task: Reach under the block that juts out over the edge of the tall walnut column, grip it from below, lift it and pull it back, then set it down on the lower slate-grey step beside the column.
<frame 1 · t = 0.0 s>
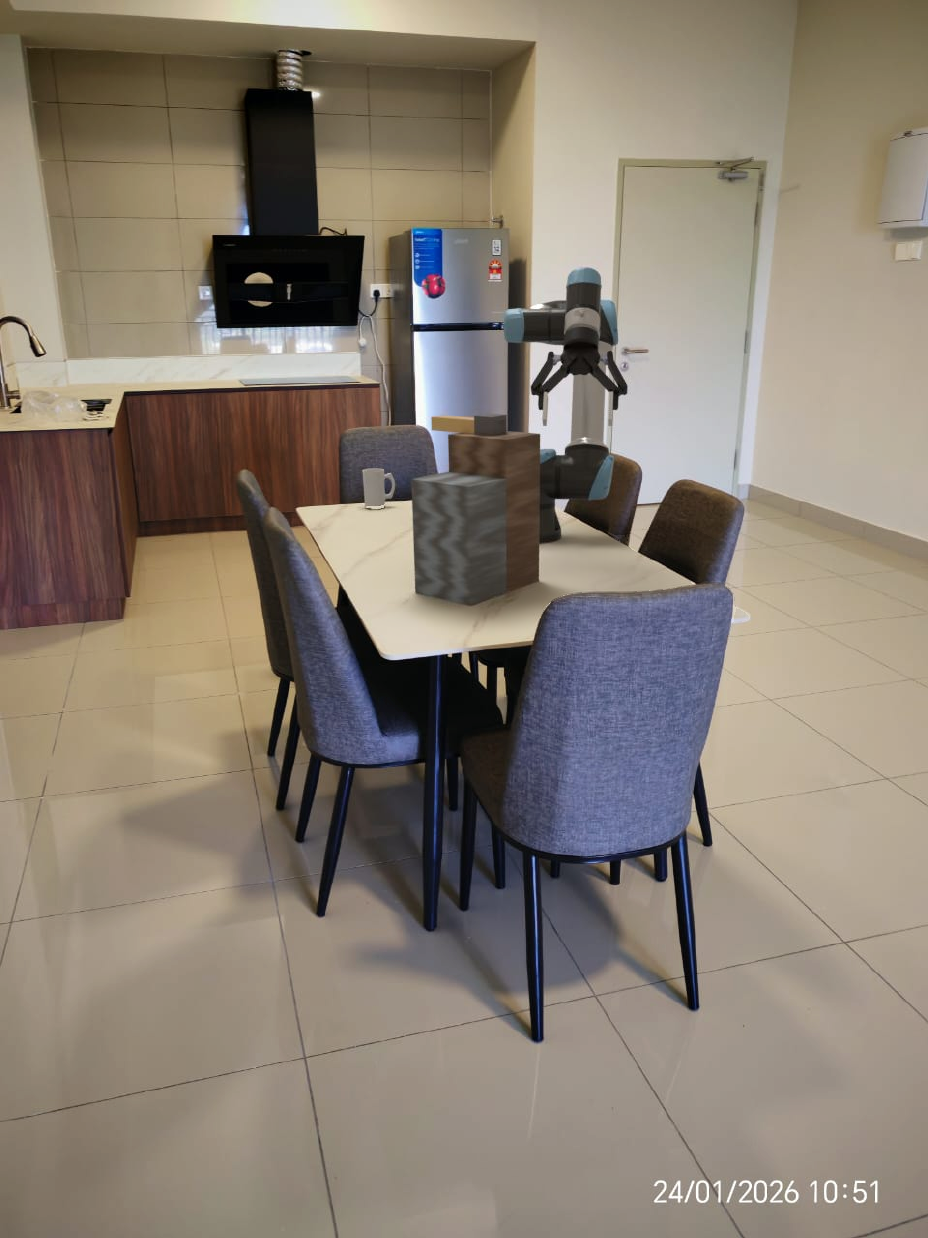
hand: (577, 422, 193), 36 cm above the table, tool tilted 35°, fingers open, 13 cm apart
stand: (478, 586, 207), on the table
canned food: (522, 520, 273), on the table
mug: (380, 508, 293), on the table
block: (467, 431, 205), point 33 cm above the table, touching stand
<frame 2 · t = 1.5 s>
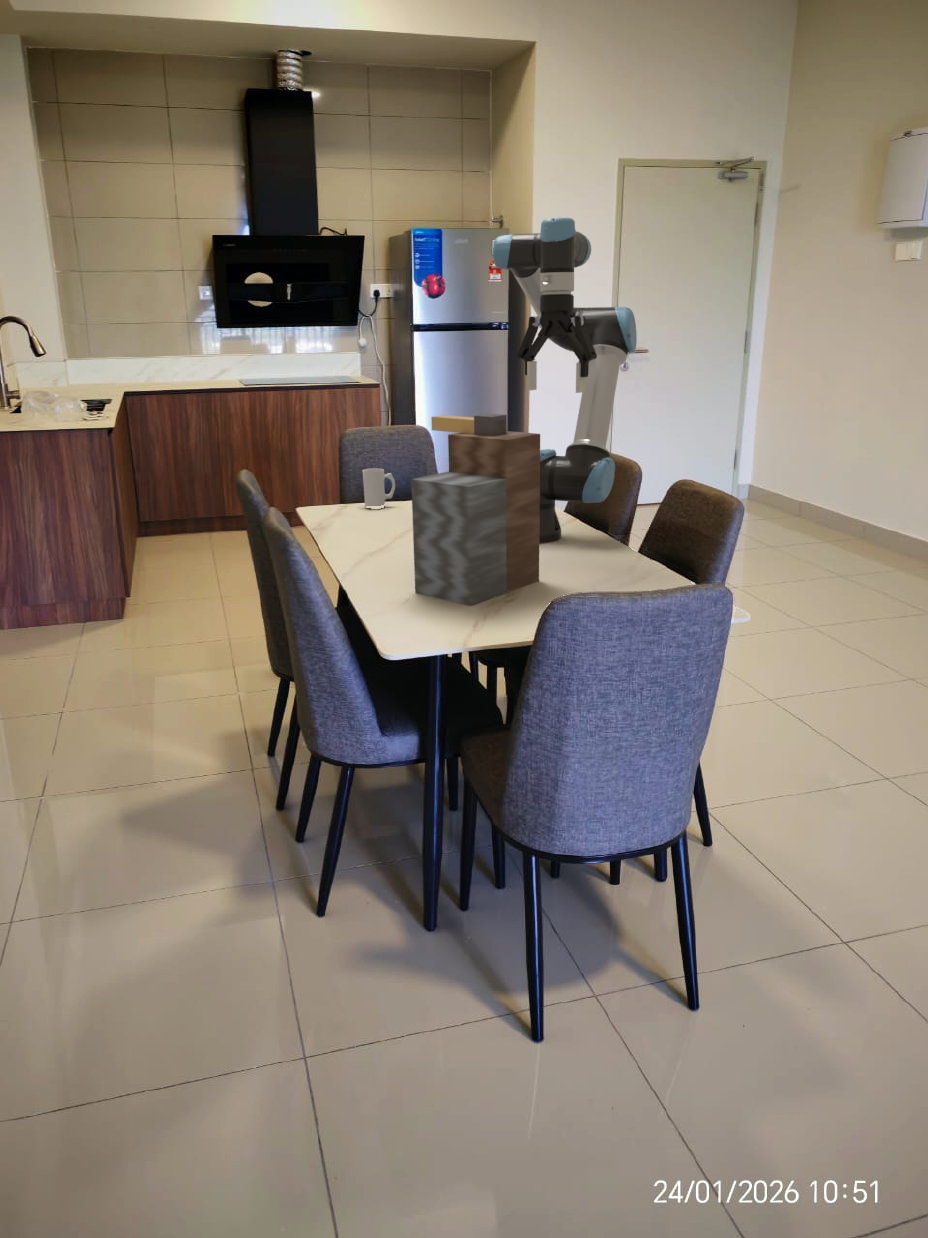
hand: (555, 391, 213), 41 cm above the table, tool pointing down, fingers open, 13 cm apart
nothing on the table moved.
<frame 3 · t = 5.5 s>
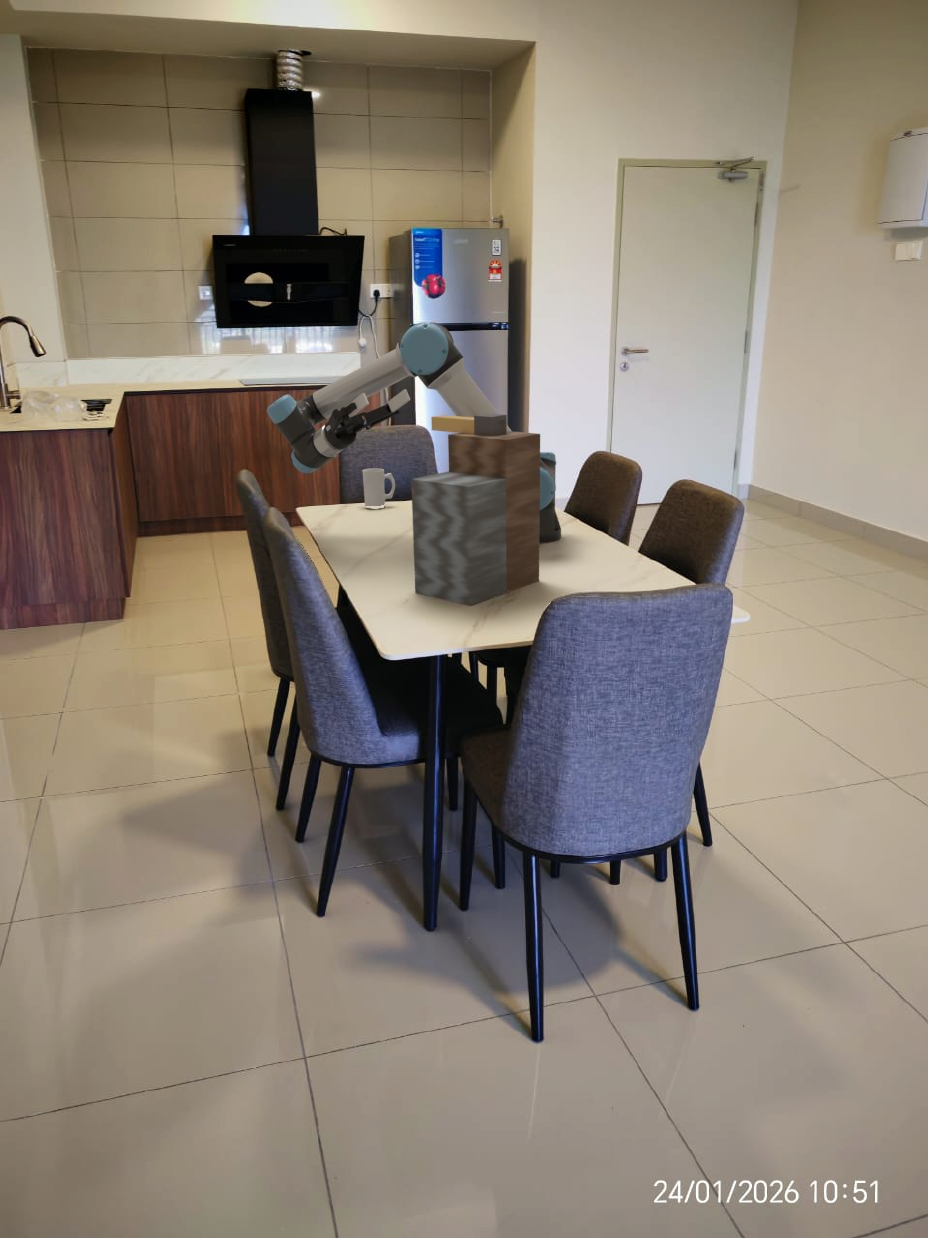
hand: (387, 396, 215), 40 cm above the table, tool pointing upward, fingers open, 13 cm apart
nothing on the table moved.
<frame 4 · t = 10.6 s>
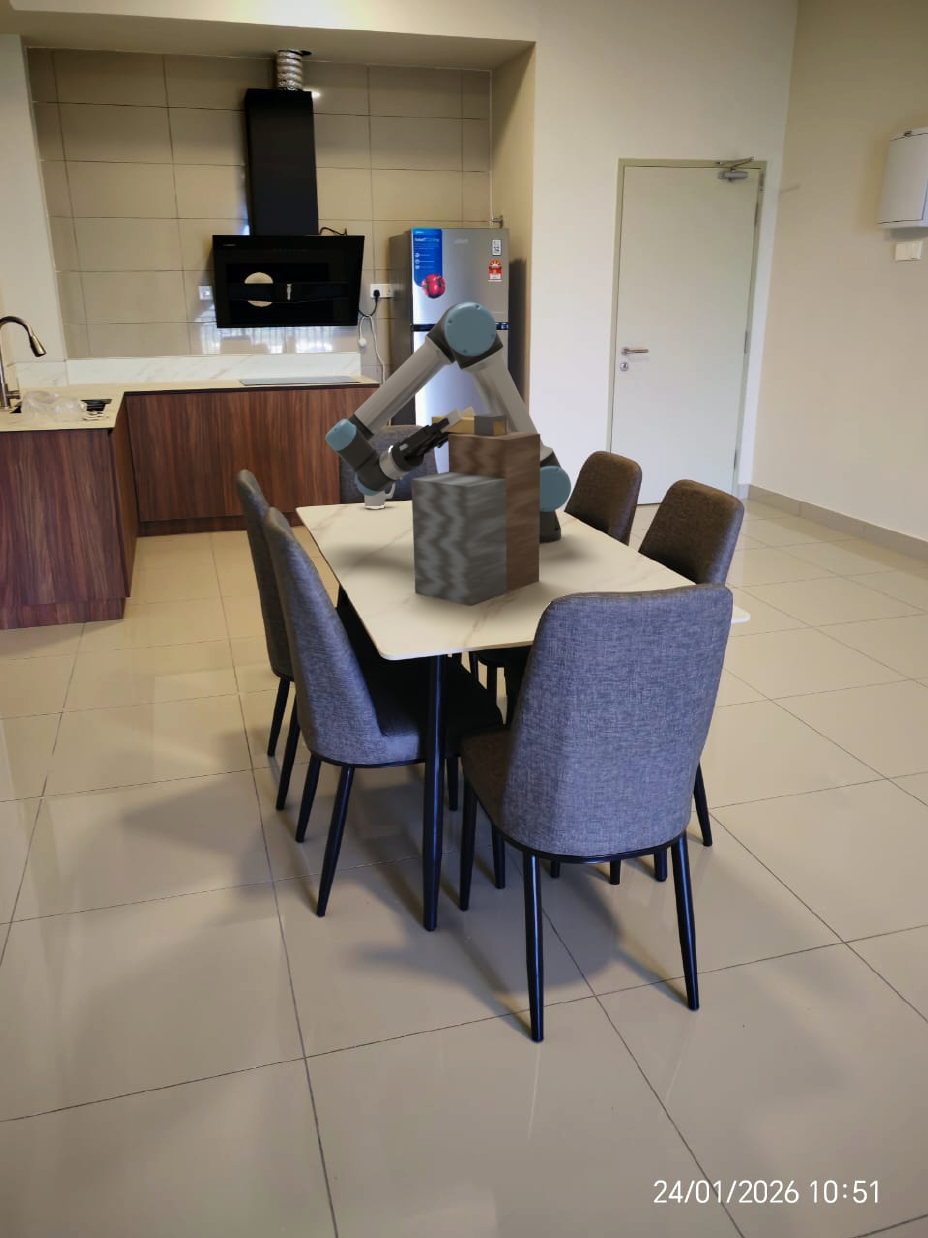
hand: (466, 412, 204), 37 cm above the table, tool pointing upward, fingers closed on block, 4 cm apart
block: (467, 431, 205), point 33 cm above the table, touching gripper, stand
everything else where it was.
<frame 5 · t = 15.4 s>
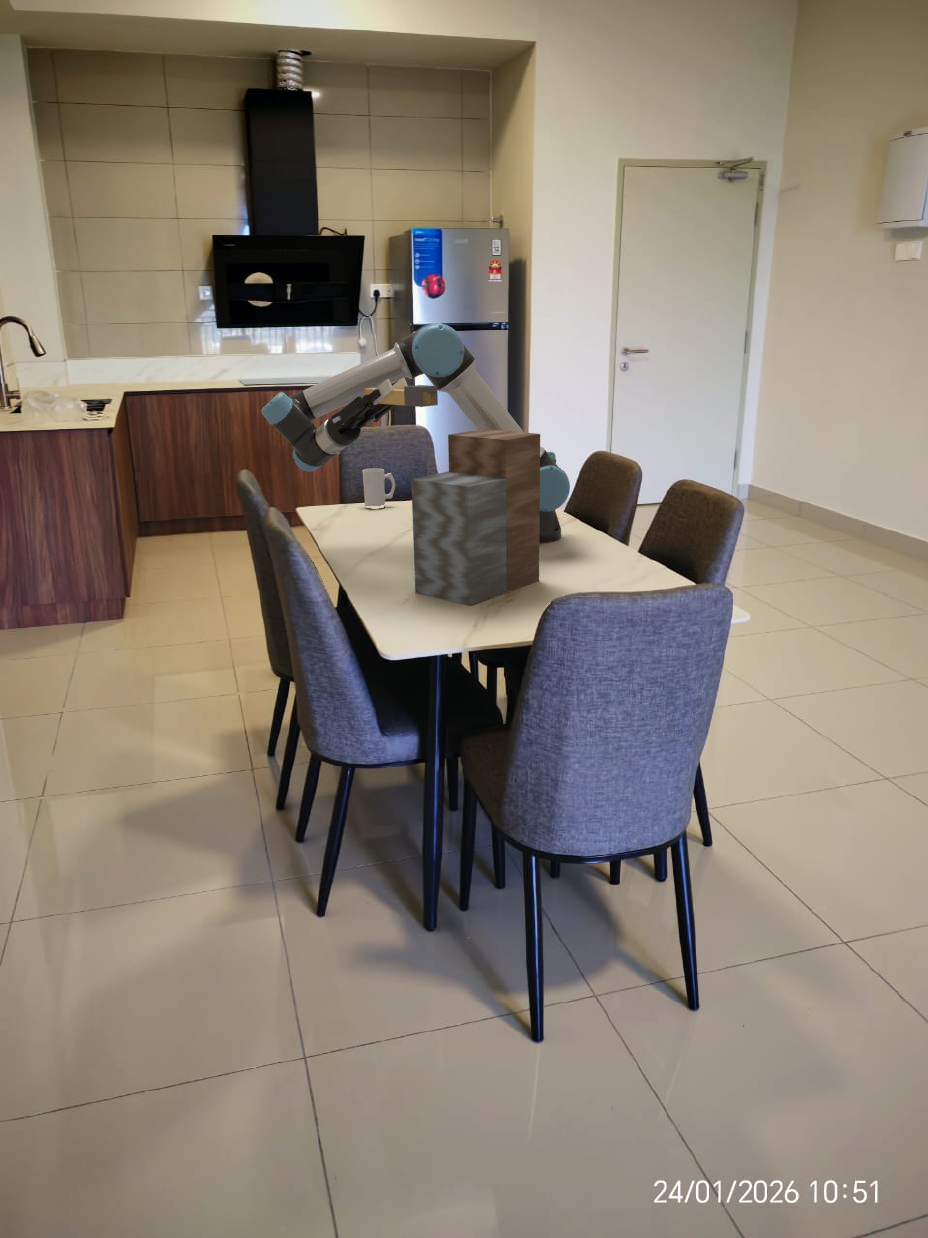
hand: (397, 384, 201), 44 cm above the table, tool pointing upward, fingers closed on block, 4 cm apart
block: (399, 403, 202), point 39 cm above the table, touching gripper
everything else where it was.
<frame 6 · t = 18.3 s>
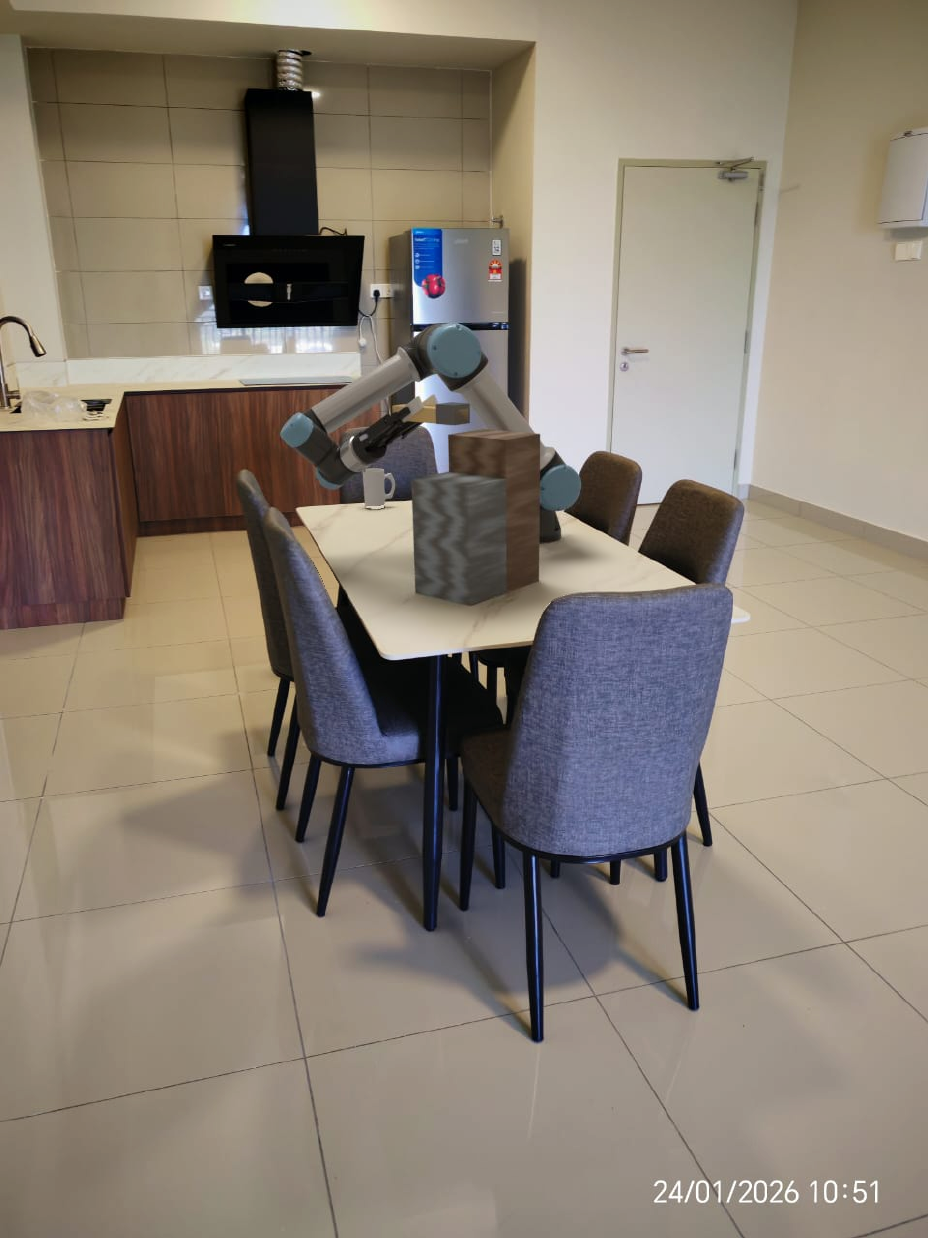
hand: (428, 401, 195), 41 cm above the table, tool pointing upward, fingers closed on block, 4 cm apart
block: (429, 421, 196), point 36 cm above the table, touching gripper
everything else where it was.
when the fingers open (31 cm above the table, at t = 20.6 s): block drops 2 cm, resting on stand.
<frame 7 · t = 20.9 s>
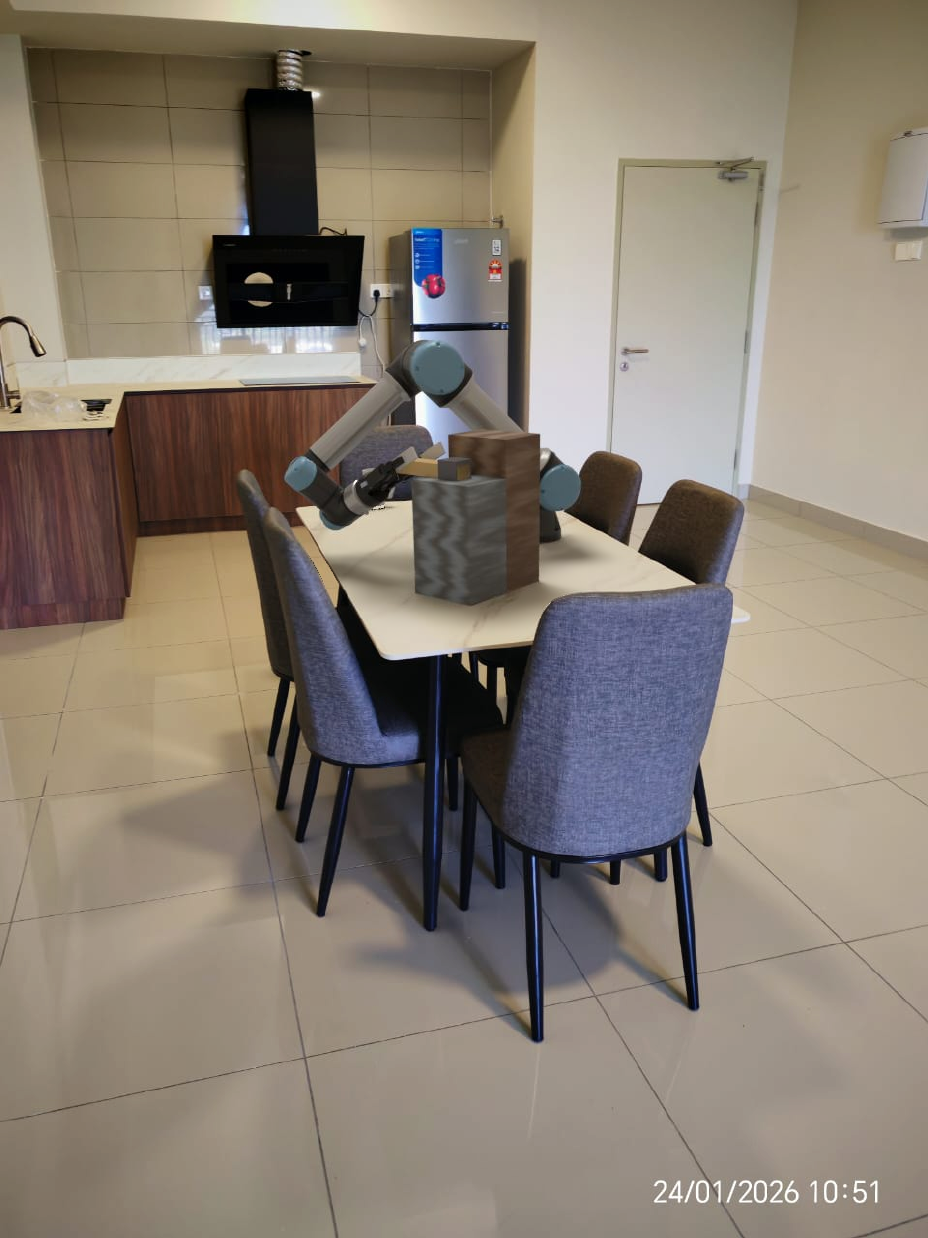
hand: (428, 449, 198), 30 cm above the table, tool pointing upward, fingers open, 8 cm apart
block: (431, 475, 199), point 25 cm above the table, touching stand
everything else where it was.
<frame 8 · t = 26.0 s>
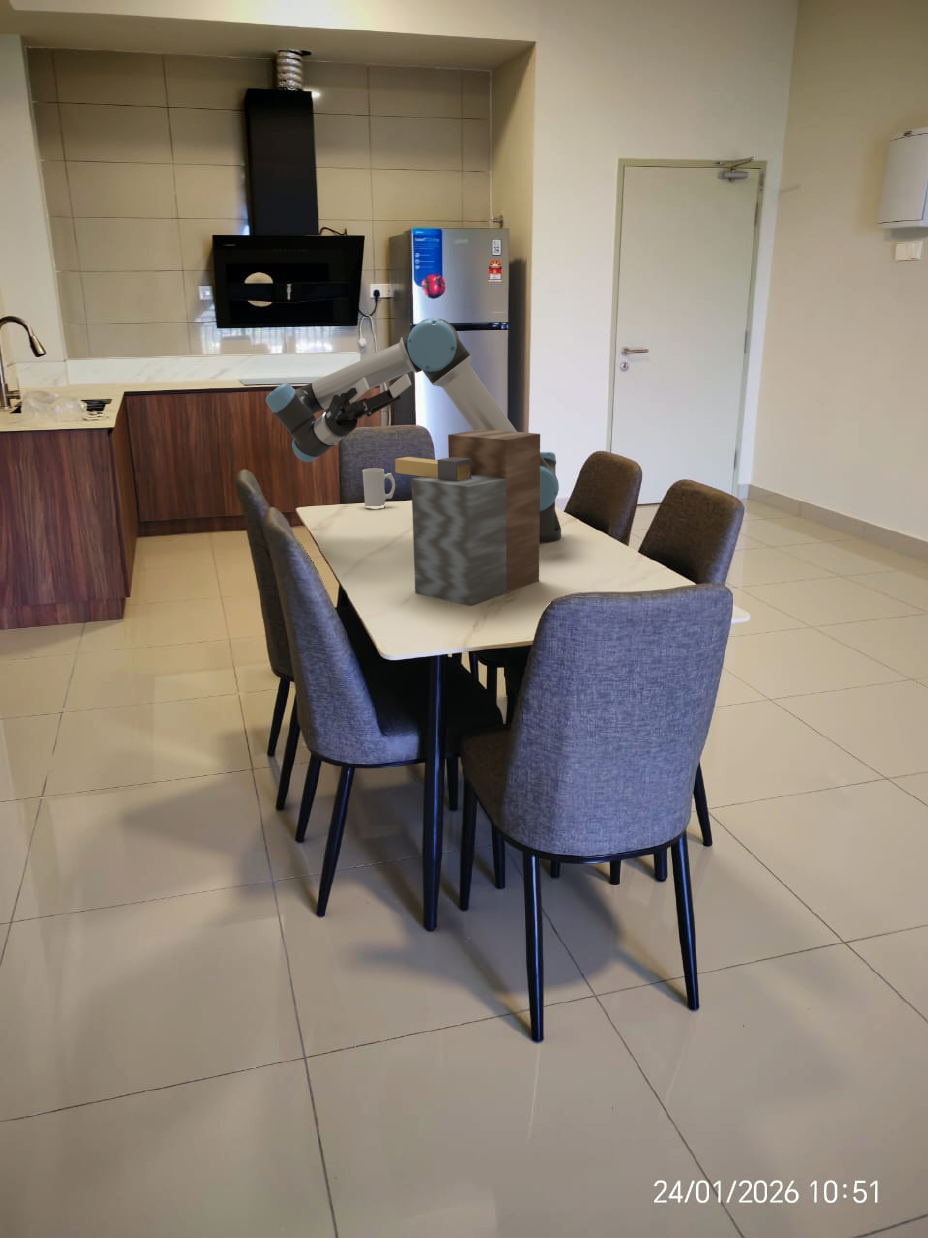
hand: (388, 380, 211), 44 cm above the table, tool pointing upward, fingers open, 13 cm apart
nothing on the table moved.
at the end: block inside the target area on the stand (0.0 cm from its centre), point 25.0 cm above the stand's base; the gripper is holding nothing; block tilted 0° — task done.
